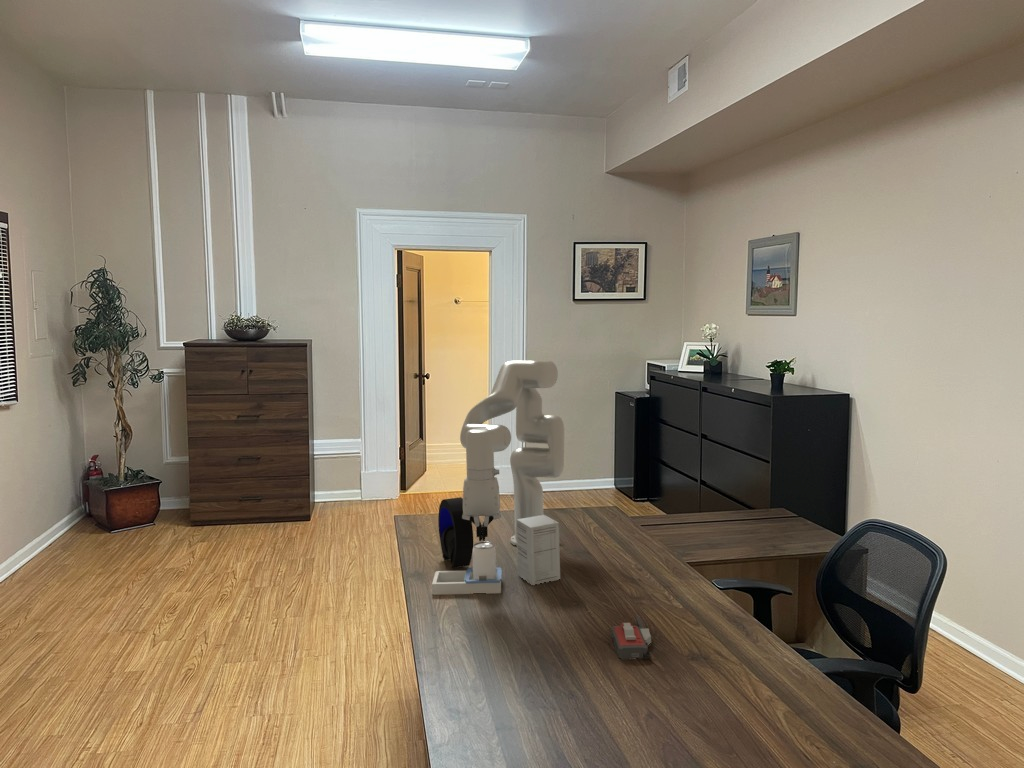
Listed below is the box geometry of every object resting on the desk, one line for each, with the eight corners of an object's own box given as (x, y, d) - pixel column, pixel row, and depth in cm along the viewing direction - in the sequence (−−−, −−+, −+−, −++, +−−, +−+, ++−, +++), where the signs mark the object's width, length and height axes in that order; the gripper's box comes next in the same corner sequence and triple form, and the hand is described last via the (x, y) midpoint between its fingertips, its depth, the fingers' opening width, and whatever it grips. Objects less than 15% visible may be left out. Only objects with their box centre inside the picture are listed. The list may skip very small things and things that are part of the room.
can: (500, 584, 200) (499, 542, 199) (490, 592, 194) (489, 549, 193) (480, 581, 203) (478, 539, 202) (469, 589, 197) (468, 547, 196)
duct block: (502, 579, 203) (501, 564, 203) (501, 593, 193) (501, 577, 193) (436, 581, 204) (435, 565, 203) (432, 595, 194) (431, 578, 193)
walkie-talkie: (659, 663, 154) (642, 623, 174) (659, 643, 154) (642, 605, 174) (618, 664, 154) (606, 623, 174) (618, 644, 154) (606, 606, 174)
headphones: (476, 572, 210) (474, 505, 208) (455, 575, 208) (452, 508, 206) (457, 552, 227) (455, 491, 225) (437, 555, 225) (435, 493, 223)
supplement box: (546, 569, 211) (544, 513, 209) (561, 579, 202) (560, 521, 201) (516, 575, 206) (515, 518, 205) (531, 586, 198) (529, 527, 196)
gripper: (507, 470, 199) (509, 534, 201) (454, 471, 199) (456, 535, 201) (507, 476, 191) (509, 543, 193) (452, 477, 192) (454, 544, 193)
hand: (482, 539), depth 197 cm, fingers closed
